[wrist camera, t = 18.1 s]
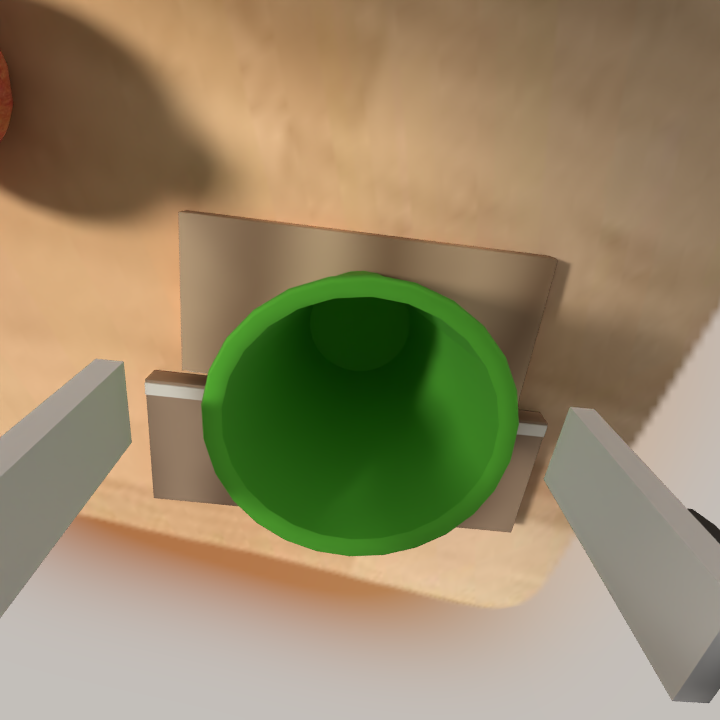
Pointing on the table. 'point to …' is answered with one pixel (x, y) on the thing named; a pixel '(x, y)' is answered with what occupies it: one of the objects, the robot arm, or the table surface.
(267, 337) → the cup
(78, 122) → the table surface
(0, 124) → the fruit
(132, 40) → the table surface
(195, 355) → the plank
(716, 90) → the table surface
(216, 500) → the floorboard
